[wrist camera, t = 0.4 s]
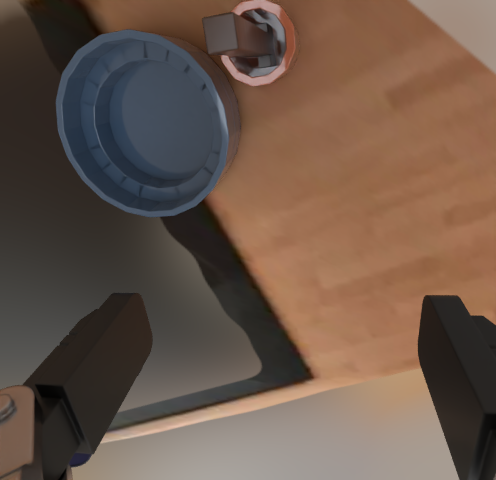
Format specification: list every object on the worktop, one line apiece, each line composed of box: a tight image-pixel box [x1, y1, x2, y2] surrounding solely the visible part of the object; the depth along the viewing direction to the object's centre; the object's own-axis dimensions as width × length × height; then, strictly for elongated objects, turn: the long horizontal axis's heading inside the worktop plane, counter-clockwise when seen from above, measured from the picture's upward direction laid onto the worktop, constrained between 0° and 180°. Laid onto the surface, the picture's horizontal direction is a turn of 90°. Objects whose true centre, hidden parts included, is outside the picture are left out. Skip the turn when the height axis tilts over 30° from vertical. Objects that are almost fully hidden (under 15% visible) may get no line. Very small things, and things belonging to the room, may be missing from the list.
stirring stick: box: [202, 12, 276, 68], centre depth 23 cm, size 3×1×18 cm, turn 9°
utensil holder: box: [221, 0, 300, 87], centre depth 28 cm, size 5×5×8 cm
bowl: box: [56, 29, 241, 217], centre depth 34 cm, size 15×15×6 cm
